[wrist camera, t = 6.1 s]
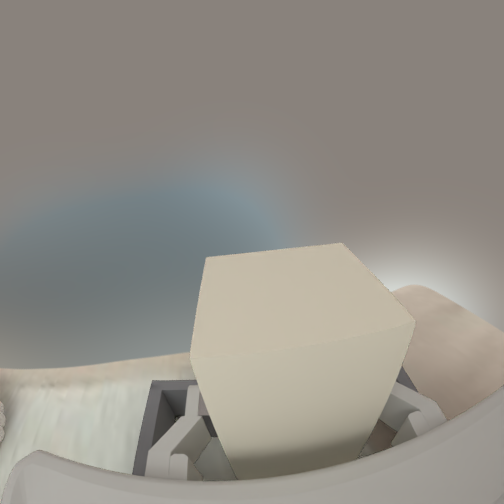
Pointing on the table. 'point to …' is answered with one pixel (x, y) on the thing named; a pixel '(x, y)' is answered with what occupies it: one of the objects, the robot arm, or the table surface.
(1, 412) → the mooncake
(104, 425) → the table surface
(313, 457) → the beige rectangular block
